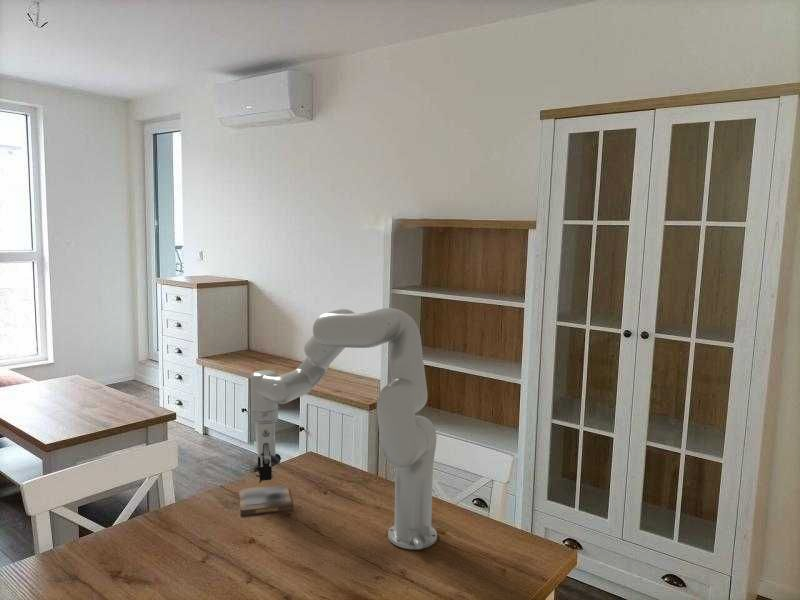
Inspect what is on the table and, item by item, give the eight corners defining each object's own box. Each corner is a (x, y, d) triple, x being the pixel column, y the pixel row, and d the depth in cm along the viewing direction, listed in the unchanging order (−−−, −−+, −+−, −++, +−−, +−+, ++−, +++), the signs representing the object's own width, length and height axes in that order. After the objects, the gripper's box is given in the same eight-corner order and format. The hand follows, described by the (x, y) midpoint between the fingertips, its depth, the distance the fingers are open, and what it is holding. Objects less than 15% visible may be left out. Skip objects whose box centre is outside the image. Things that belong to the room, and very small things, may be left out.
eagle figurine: (279, 480, 165) (287, 462, 174) (264, 461, 164) (273, 444, 172) (258, 492, 167) (267, 474, 175) (243, 473, 165) (252, 456, 174)
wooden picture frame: (292, 510, 164) (292, 504, 164) (240, 516, 160) (240, 510, 160) (286, 488, 178) (286, 483, 178) (239, 493, 174) (239, 488, 174)
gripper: (281, 423, 159) (280, 484, 161) (275, 404, 176) (275, 461, 178) (252, 425, 157) (252, 487, 159) (249, 406, 173) (249, 463, 175)
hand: (264, 473), depth 168 cm, fingers closed on eagle figurine, 8 cm apart
